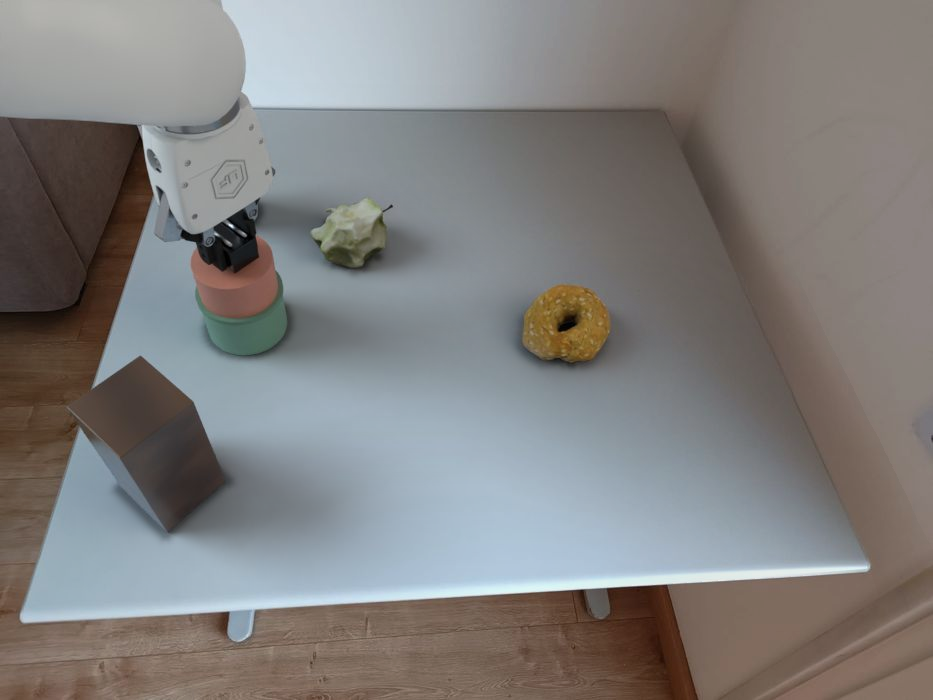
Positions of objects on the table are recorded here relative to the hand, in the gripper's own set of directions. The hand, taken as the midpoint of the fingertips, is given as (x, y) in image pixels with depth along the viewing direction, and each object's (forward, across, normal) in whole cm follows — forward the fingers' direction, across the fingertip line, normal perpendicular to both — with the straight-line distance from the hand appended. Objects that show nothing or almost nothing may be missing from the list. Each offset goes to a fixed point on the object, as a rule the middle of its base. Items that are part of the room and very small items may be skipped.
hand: (230, 251), depth 73 cm
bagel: (+12, +24, -28) cm, 39 cm away
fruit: (+12, +17, 0) cm, 21 cm away
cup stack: (+12, 0, 0) cm, 12 cm away
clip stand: (+12, -18, -10) cm, 24 cm away
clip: (0, 0, 0) cm, 0 cm away
